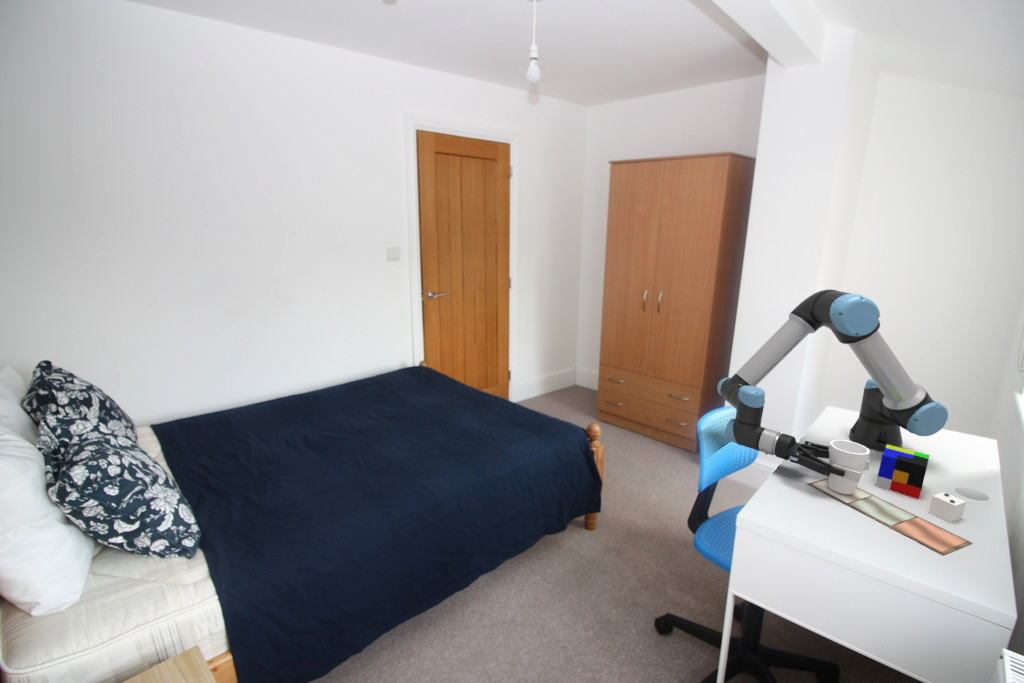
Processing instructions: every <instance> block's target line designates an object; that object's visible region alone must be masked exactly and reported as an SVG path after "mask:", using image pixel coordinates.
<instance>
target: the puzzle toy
mask: <svg viewBox="0 0 1024 683" xmlns="http://www.w3.org/2000/svg"><path fill="white" fill-rule="evenodd" d="M882 452H883V453H882V454H881V460H880V464H879V468H878V473H877V478H876V482H875V487H877V486H878V488H881V489H883V490H887V489H888V491H890V490H892V491H891V492H894V491H895V492H894V493H897V492H898V493H897V494H900V493H901V494H900V495H903V494H904V495H903V496H907V497H911V498H914V499H916V500H917V499H918V500H920V496H921V493H922V489H923V484H924V480H925V476H926V471H927V467H928V464H929V459H930V455H929V454H926V453H923V452H918V451H914V450H912V449H907V448H900V447H896V446H892V445H888V444H887V445H886V448H885V450H884V451H882Z"/></svg>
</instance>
